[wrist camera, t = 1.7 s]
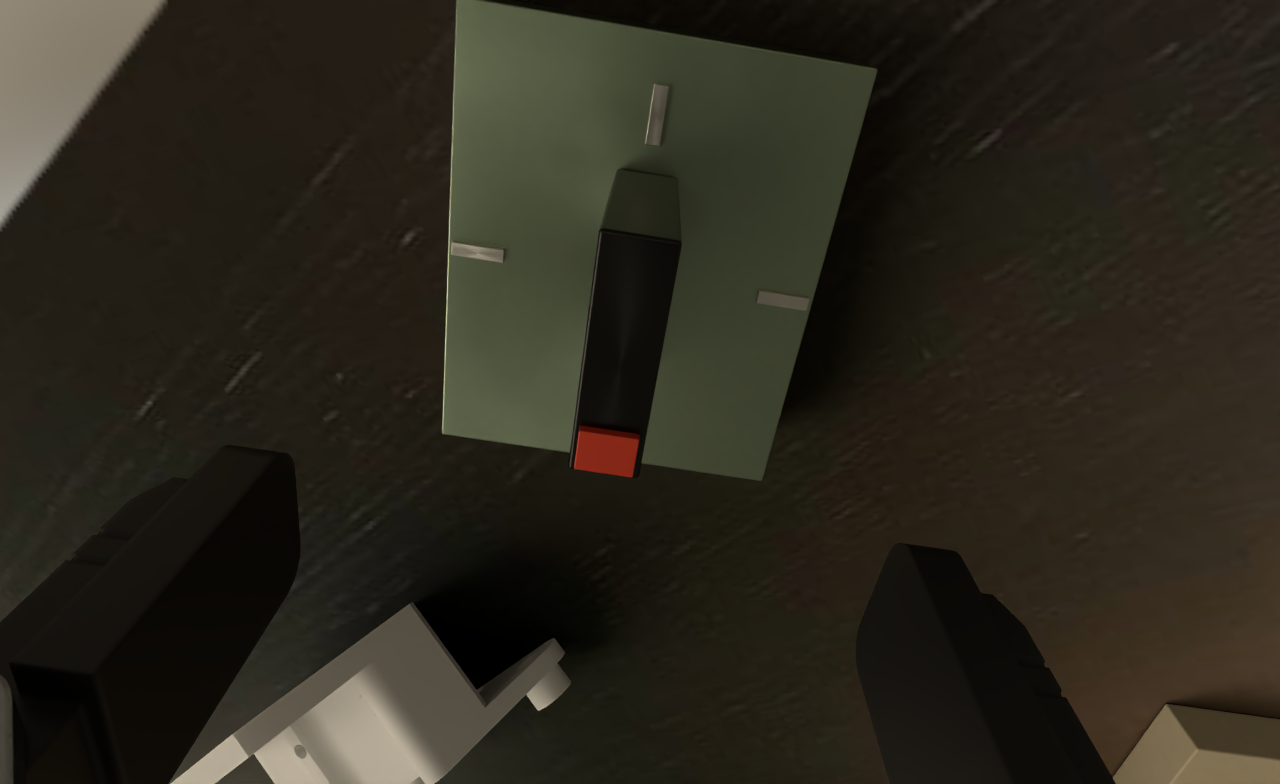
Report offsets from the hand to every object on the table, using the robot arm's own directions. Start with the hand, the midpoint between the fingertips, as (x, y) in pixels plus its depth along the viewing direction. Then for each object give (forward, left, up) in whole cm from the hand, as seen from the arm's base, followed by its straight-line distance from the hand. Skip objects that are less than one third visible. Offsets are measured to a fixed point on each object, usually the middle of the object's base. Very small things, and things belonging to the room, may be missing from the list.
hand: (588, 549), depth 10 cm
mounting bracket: (+19, -7, -15) cm, 25 cm away
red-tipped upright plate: (0, 0, -11) cm, 11 cm away
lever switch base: (0, 0, -14) cm, 14 cm away
